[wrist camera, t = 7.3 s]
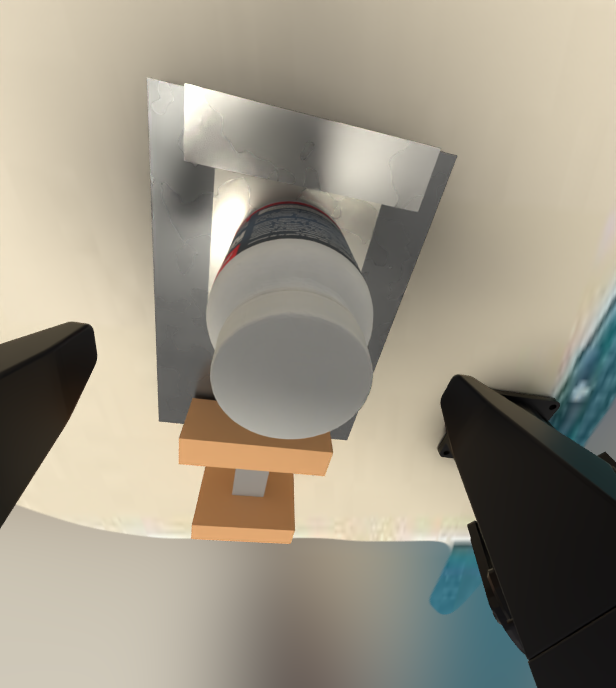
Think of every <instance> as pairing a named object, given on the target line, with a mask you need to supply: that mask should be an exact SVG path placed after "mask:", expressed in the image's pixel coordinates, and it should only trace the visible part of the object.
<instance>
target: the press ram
mask: <svg viewBox="0 0 616 688" xmlns="http://www.w3.org/2000/svg"><path fill="white" fill-rule="evenodd" d="M332 454H333V449H332V442H331V435H330V431H329V432H327V433H324V434H321V435H317V436H314V437H309V438H303V439H278V438H272V437H267V436H263V435H259V434H257V433H254V432H251V431H249V430H248V429H246V428H244V427H242V426H240V425H239V424H237V423H236V422H234V421H233V420H232V419H231V418H230V417H229V416H228V415H227V414H226V413H225V412H224V411H223V410H222V408H221V407H220V406H219V404H218V402H217V401H215V400H206V399H197V398H192V401H191V404H190V407H189V410H188V413H187V416H186V419H185V422H184V425H183V428H182V431H181V434H180V437H179V464H184V465H196V466H206V467H205V471H204V475H203V480H202V484H201V488H200V492H199V497H198V501H197V505H196V510H195V514H194V518H193V523H192V534H191V539H202V540H222V541H243V542H264V543H285V544H290V543H291V541H292V538H293V535H294V532H295V518H294V478H293V473H294V474H306V475H318V476H325V474H326V471H327V468H328V465H329V463H330V460H331V457H332Z"/></svg>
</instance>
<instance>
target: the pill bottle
mask: <svg viewBox="0 0 616 688" xmlns="http://www.w3.org/2000/svg"><path fill="white" fill-rule="evenodd" d="M206 321H207V329H208V333H209V337H210V340H211V343H212V345H213V348H214V350H215V352H214V355H213V359H212V363H211V369H210V381H211V386H212V390H213V394H214V396H215V398H216V400H217V402H218V404H219V406H220V407H221V408H222V410H223V411H224V412H225V413H226V414H227V415H228V416H229V417H230V418H231V419H232V420H233V421H234V422H236V423H237V424H239V425H240V426H242V427H244V428H246V429H248V430H249V431H251V432H254V433H257V434H259V435H263V436H267V437H272V438H278V439H303V438H309V437H314V436H317V435H321V434H324V433H327V432H329V431H332V430H334V429H336V428H338V427H339V426H341V425H343V424H344V423H346V422H347V421H348V420H350V419H351V418H352V417H353V416H354V415H355V414H356V413H357V412H358V411H359V410H360V409H361V407H362V406H363V404H364V403H365V401H366V399H367V397H368V395H369V392H370V389H371V385H372V378H373V370H372V362H371V358H370V354H369V351H368V347H367V346H368V343H369V340H370V337H371V333H372V327H373V305H372V299H371V296H370V292H369V289H368V286H367V283H366V281H365V279H364V277H363V275H362V273H361V271H360V269H359V267H358V264H357V262H356V260H355V258H354V256H353V254H352V252H351V250H350V248H349V246H348V244H347V242H346V240H345V237H344V235H343V233H342V232H341V230H340V228H339V227H338V225H337V224H336V223H335V221H334V220H333V219H332V218H331V217H330V216H329V215H328V214H327V213H325V212H324V211H323V210H321V209H319V208H318V207H316V206H314V205H312V204H309V203H306V202H302V201H297V200H280V201H275V202H271V203H268V204H266V205H264V206H261V207H260V208H258V209H256V210H255V211H253V212H252V213H251V214H250V215H249V216H248V217H247V218H246V219H245V220H244V221H243V222H242V224H241V225H240V226H239V228H238V230H237V232H236V233H235V236H234V238H233V240H232V243H231V245H230V247H229V250H228V252H227V254H226V256H225V259H224V261H223V263H222V265H221V267H220V269H219V271H218V273H217V275H216V278H215V280H214V283H213V285H212V288H211V291H210V294H209V298H208V303H207V309H206Z"/></svg>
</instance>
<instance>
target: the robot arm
mask: <svg viewBox="0 0 616 688" xmlns="http://www.w3.org/2000/svg"><path fill="white" fill-rule="evenodd" d="M96 361H97V349H96V343H95V336H94V330H93V328H92V326H91V325H89V324H86V323H79V322H67V323H64V324H61V325H58V326H55V327H52V328H49V329H45V330H42V331H39V332H36V333H33V334H30V335H27V336H24V337H21V338H18V339H14V340H11V341H8V342H5V343H2V344H0V528H1V526H2V525H3V523H4V522H5V520H6V518H7V517H8V515H9V514H10V512H11V511H12V509H13V508H14V506H15V504H16V503H17V501H18V500H19V498H20V497H21V495H22V493H23V492H24V490H25V489H26V487H27V486H28V484H29V482H30V481H31V479H32V478H33V476H34V474H35V473H36V471H37V470H38V468H39V467H40V465H41V463H42V462H43V460H44V459H45V457H46V456H47V454H48V452H49V451H50V449H51V448H52V446H53V445H54V443H55V441H56V440H57V438H58V437H59V435H60V433H61V432H62V430H63V429H64V427H65V425H66V424H67V422H68V420H69V419H70V417H71V415H72V413H73V411H74V409H75V407H76V404H77V402H78V400H79V398H80V396H81V394H82V392H83V390H84V388H85V386H86V383H87V381H88V379H89V377H90V375H91V373H92V371H93V369H94V367H95V364H96ZM559 407H560V403H559V402H558V401H557V400H556V399H555V398H550V397H542V396H535V395H527V394H520V393H513V392H505V391H498V390H492V389H490V388H489V387H487V386H486V385H484V384H483V383H481V382H479V381H478V380H476V379H475V378H473V377H471V376H467V375H459V374H457V375H455V376H453V377H452V379H451V381H450V382H449V384H448V386H447V388H446V390H445V391H444V393H443V395H442V397H441V409H442V413H443V417H444V421H445V425H446V429H447V434H446V436H445V438H444V439H443V441H442V443H441V444H440V446H439V448H438V452H439V454H440V456H441V457H447V458H454V460H455V462H456V465H457V468H458V470H459V473H460V476H461V479H462V481H463V484H464V487H465V490H466V492H467V495H468V498H469V501H470V503H471V506H472V509H473V512H474V514H475V517H476V520H477V521H473V522H471V523H469V524H467V526H468V530H469V533H470V537H471V543H472V547H473V550H474V554H475V557H476V561H477V564H478V568H479V571H480V574H481V578H482V581H483V585H484V588H485V592H486V595H487V598H488V602H489V605H490V607H491V609H492V611H493V615H494V617H495V619H496V620H497V622H498V623H499V624H501V625H502V626H503V628H504V629H505V631H506V632H507V634H508V635H509V637H510V638H511V640H512V641H513V642H514V643H515V645H516V646H517V647H518V648H519V649H520V650H521V651H522V652H523V653H524V654H525V655H526V657H527V659H528V660H529V661H528V663H529V666H530V669H531V672H532V674H533V677H534V680H535V682H536V686H537V688H616V462H615V461H614V460H613V459H612V458H611V457H610V456H609V455H608V454H607V453H606V452H604V453H602V454H600V455H598V456H596V455H595V454H593V453H592V452H590V451H588V450H587V449H585V448H584V447H582V446H581V445H579V444H577V443H576V442H574V441H573V440H571V439H570V438H568V437H566V436H565V435H563V434H562V433H560V432H558V431H557V430H556V429H555V428H554V427H553V426H552V425H551V424H550V422H549V420H550V418H551V417H552V416H553V415H554V413H555V412H556V411H557V410H558V408H559Z"/></svg>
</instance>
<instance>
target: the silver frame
mask: <svg viewBox="0 0 616 688" xmlns="http://www.w3.org/2000/svg"><path fill="white" fill-rule="evenodd" d="M147 95H148V123H149V152H150V180H151V209H152V237H153V266H154V294H155V323H156V351H157V380H158V408H159V421H160V422H170V423H180V424H184V422H185V419H186V416H187V413H188V410H189V407H190V404H191V401H192V398H197V399H206V400H215V401H217V400H216V398H215V396H214V394H213V390H212V386H211V381H210V369H211V363H212V359H213V355H214V352H215V350H214V348H213V345H212V343H211V340H210V337H209V333H208V329H207V321H206V309H207V303H208V298H209V294H210V291H211V288H212V285H213V283H214V280H215V278H216V275H217V273H218V271H219V269H220V267H221V265H222V263H223V261H224V259H225V256H226V254H227V252H228V250H229V247H230V245H231V243H232V240H233V238H234V236H235V233H236V232H237V230H238V228H239V226H240V225H241V224H242V222H243V221H244V220H245V219H246V218H247V217H248V216H249V215H250V214H251V213H252V212H253V211H255V210H256V209H258V208H260V207H261V206H264V205H266V204H268V203H271V202H275V201H280V200H297V201H302V202H306V203H309V204H312V205H314V206H316V207H318V208H319V209H321V210H323V211H324V212H325V213H327V214H328V215H329V216H330V217H331V218H332V219H333V220H334V221H335V223H336V224H337V225H338V227H339V228H340V230H341V232H342V233H343V235H344V237H345V240H346V242H347V244H348V246H349V248H350V250H351V252H352V254H353V256H354V258H355V260H356V262H357V264H358V267H359V269H360V271H361V273H362V275H363V277H364V279H365V281H366V283H367V286H368V289H369V292H370V296H371V299H372V305H373V327H372V333H371V337H370V340H369V343H368V346H367V347H368V351H369V354H370V358H371V362H372V370H373V372H374V369H375V367H376V364H377V362H378V359H379V356H380V354H381V351H382V349H383V346H384V344H385V341H386V338H387V336H388V333H389V331H390V328H391V325H392V323H393V320H394V318H395V315H396V313H397V310H398V307H399V305H400V302H401V300H402V297H403V295H404V292H405V289H406V287H407V284H408V282H409V279H410V276H411V274H412V271H413V269H414V266H415V264H416V261H417V258H418V256H419V253H420V251H421V248H422V246H423V243H424V240H425V238H426V235H427V233H428V230H429V228H430V225H431V222H432V220H433V217H434V215H435V212H436V209H437V207H438V204H439V202H440V199H441V197H442V194H443V191H444V189H445V186H446V184H447V181H448V179H449V176H450V173H451V171H452V168H453V166H454V163H455V160H456V158H457V155H453V154H449V153H445V152H441V151H440V150H441V148H438V147H434V146H430V145H426V144H422V143H418V142H414V141H410V140H406V139H402V138H399V137H395V136H391V135H387V134H383V133H379V132H375V131H371V130H367V129H363V128H359V127H355V126H351V125H347V124H344V123H340V122H336V121H332V120H328V119H324V118H320V117H316V116H312V115H308V114H304V113H300V112H296V111H292V110H288V109H285V108H281V107H277V106H273V105H269V104H265V103H261V102H257V101H253V100H249V99H245V98H241V97H237V96H233V95H230V94H226V93H222V92H218V91H214V90H210V89H206V88H202V87H198V86H194V85H190V84H186V83H185V87H184V86H180V85H176V84H172V83H168V82H164V81H160V80H156V79H152V78H149V77H147ZM357 413H358V412H357ZM357 413H356V414H355V415H354V416H353V417H352V418H351V419H350V420H348V421H347V422H346V423H344V424H343V425H341V426H339V427H338V428H336V429H334V430H332V431H330V435H331V439H340V440H347V439H348V436H349V434H350V431H351V429H352V426H353V423H354V421H355V418H356V416H357Z"/></svg>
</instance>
